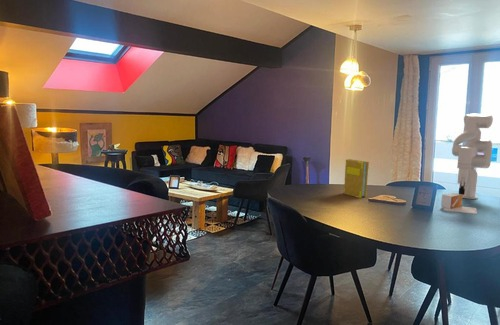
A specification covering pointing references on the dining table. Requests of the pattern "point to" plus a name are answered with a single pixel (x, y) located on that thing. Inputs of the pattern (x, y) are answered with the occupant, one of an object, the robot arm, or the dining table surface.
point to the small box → (451, 200)
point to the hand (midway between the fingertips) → (461, 194)
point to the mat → (462, 210)
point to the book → (356, 178)
